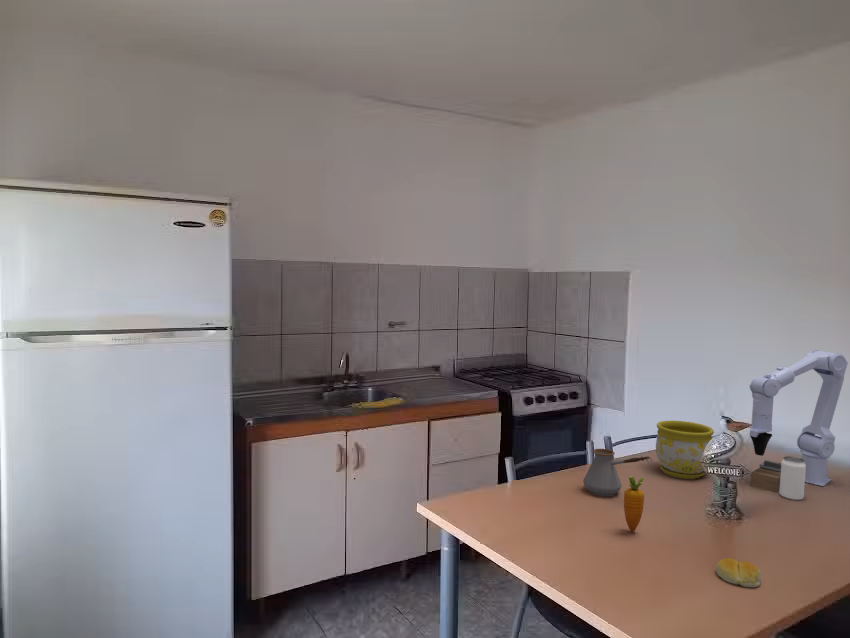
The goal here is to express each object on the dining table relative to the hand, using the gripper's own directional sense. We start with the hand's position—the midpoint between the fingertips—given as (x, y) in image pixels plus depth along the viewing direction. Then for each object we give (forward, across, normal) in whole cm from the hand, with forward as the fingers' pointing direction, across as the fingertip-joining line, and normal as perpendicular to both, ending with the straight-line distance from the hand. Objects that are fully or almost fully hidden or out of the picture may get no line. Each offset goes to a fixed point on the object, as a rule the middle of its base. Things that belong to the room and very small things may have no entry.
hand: (759, 454), depth 195 cm
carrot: (+10, +68, -8) cm, 69 cm away
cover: (+5, -7, +3) cm, 9 cm away
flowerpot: (+10, +9, -21) cm, 25 cm away
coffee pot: (+10, +48, -24) cm, 55 cm away
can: (+10, +4, +11) cm, 15 cm away
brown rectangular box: (+10, -4, +3) cm, 11 cm away
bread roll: (+10, +72, +20) cm, 75 cm away
